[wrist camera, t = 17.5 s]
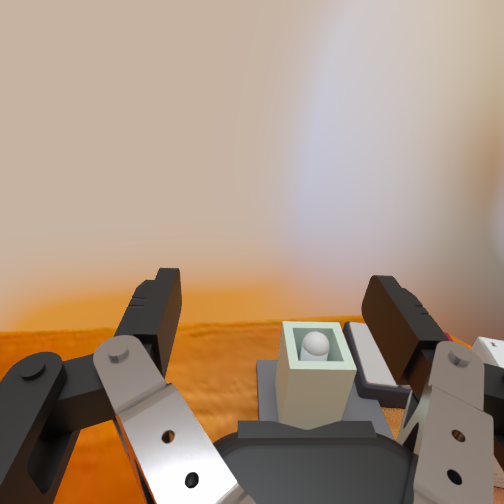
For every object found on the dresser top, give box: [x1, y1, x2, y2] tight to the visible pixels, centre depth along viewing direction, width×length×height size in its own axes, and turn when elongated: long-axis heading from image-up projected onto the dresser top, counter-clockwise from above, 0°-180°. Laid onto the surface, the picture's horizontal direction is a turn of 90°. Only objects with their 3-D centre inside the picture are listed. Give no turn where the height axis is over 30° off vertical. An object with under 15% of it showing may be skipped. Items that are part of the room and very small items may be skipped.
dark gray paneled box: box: [342, 322, 453, 408], centre depth 40 cm, size 11×4×15 cm
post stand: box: [257, 331, 394, 440], centre depth 32 cm, size 14×13×12 cm
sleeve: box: [275, 321, 357, 430], centre depth 32 cm, size 6×6×10 cm
